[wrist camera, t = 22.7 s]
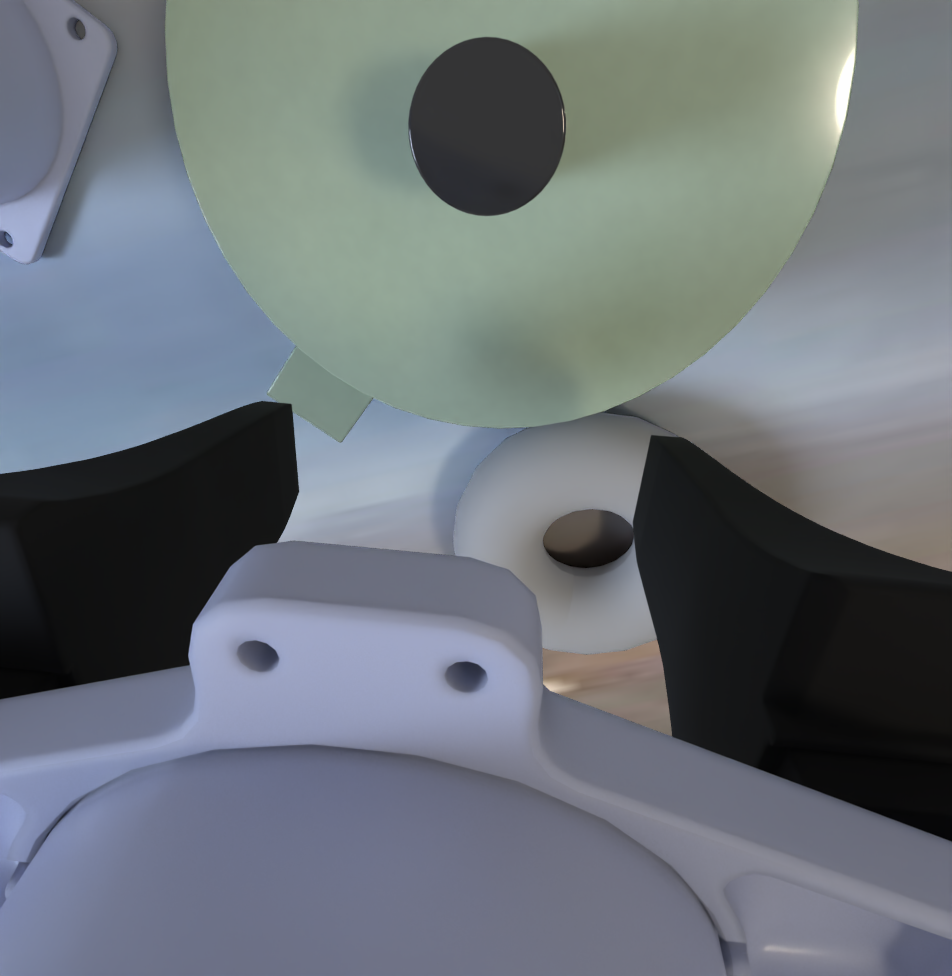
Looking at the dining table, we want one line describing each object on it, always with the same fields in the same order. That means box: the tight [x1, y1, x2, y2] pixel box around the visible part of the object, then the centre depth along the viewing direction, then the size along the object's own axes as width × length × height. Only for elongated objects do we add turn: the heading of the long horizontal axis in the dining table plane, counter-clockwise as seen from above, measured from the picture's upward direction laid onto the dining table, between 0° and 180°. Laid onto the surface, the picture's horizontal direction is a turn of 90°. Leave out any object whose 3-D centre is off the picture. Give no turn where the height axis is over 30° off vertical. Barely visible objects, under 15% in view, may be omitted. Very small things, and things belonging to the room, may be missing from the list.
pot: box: [267, 346, 373, 443], centre depth 17 cm, size 13×18×6 cm
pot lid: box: [165, 0, 859, 428], centre depth 12 cm, size 14×14×5 cm
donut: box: [453, 412, 678, 655], centre depth 25 cm, size 10×4×10 cm
